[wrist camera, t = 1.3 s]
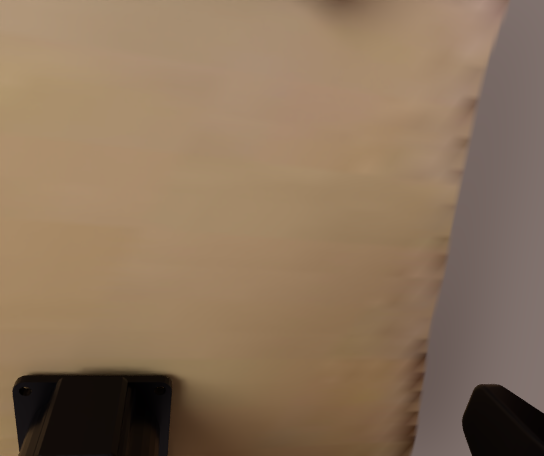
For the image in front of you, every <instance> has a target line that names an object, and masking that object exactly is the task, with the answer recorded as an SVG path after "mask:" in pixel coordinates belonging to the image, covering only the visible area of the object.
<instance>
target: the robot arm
mask: <svg viewBox="0 0 544 456" xmlns="http://www.w3.org/2000/svg"><path fill="white" fill-rule="evenodd" d="M160 386H161V387H164V388H161V389H160V388H157V387H160ZM24 387H28V388H30V389H25V388H24ZM12 392H13V401H14V409H15V418H16V426H17V435H18V444H19V452H20V453H19V455H18V456H167V454H168V439H169V424H170V409H171V395H172V382H171V380H170V379H169V378H168V377H166V376H22V377H20V378H18V379H17V380H16V382H15V385H14V387H13V391H12ZM462 426H463V431H464V434H465V437H466V440H467V443H468V446H469V448H470V451H471V454H472V456H544V413H542V412H541V411H539V410H538V409H536V408H535V407H533V406H532V405H530V404H528V403H527V402H526V401H524V400H523V399H521V398H520V397H518V396H516V395H515V394H513V393H512V392H510V391H509V390H507V389H506V388H504V387H503V386H501V385H497V384H481V385H478V386H477V387H475V389H474V390H473V393H472V395H471V398H470V400H469V402H468V405H467V407H466V410H465V412H464V415H463V419H462Z"/></svg>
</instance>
